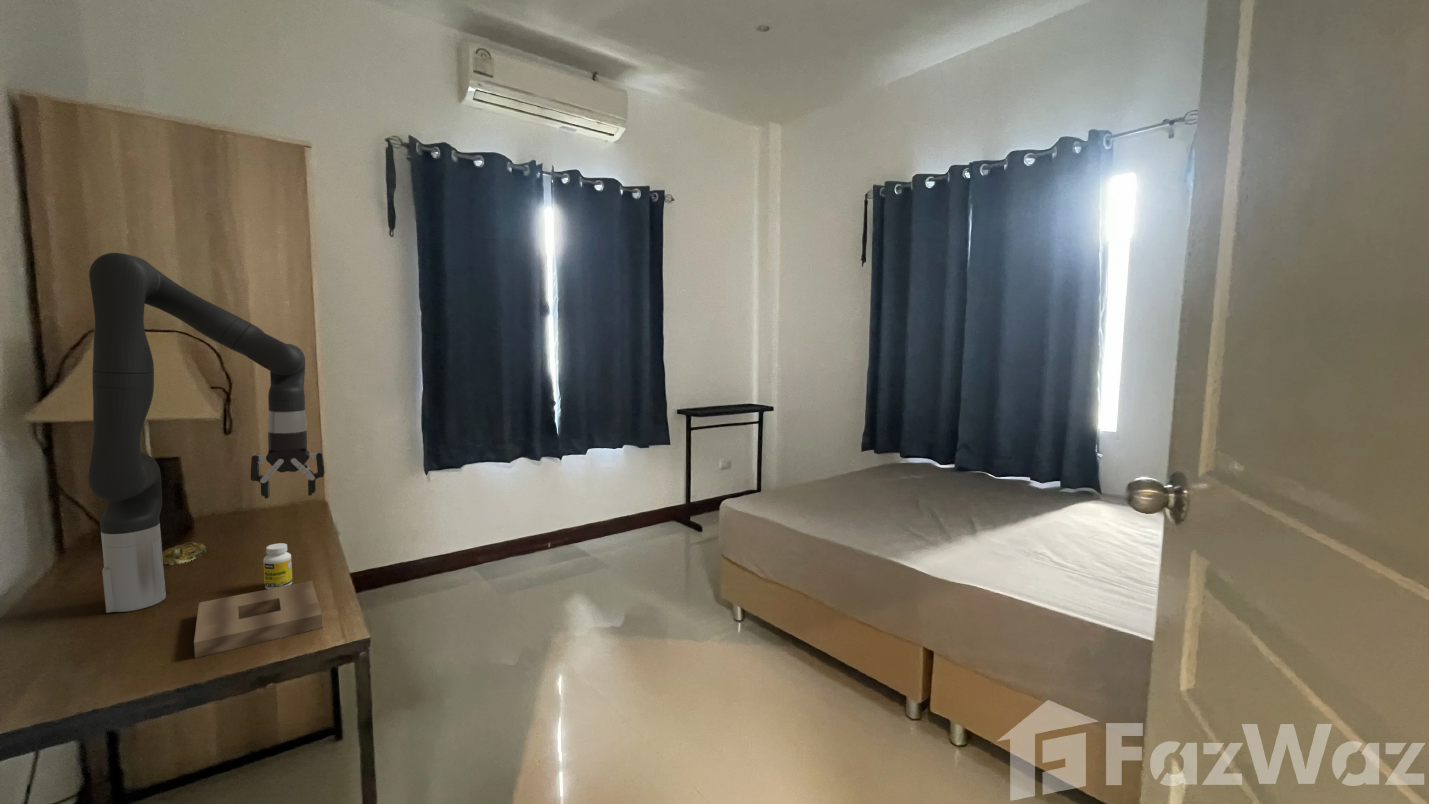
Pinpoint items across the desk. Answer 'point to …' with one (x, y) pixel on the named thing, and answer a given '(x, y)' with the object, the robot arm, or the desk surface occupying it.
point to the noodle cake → (183, 553)
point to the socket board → (256, 618)
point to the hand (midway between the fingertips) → (289, 496)
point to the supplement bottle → (277, 566)
